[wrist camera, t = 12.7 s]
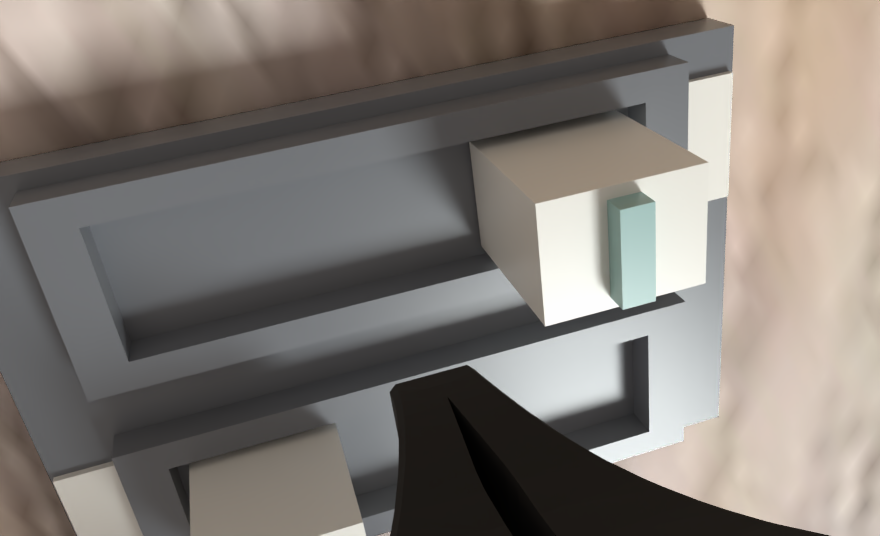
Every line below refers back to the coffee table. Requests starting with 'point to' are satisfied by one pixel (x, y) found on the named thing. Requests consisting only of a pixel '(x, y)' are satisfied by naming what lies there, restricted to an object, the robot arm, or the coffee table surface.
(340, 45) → the coffee table surface
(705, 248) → the tab
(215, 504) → the tab
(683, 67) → the switch bank
